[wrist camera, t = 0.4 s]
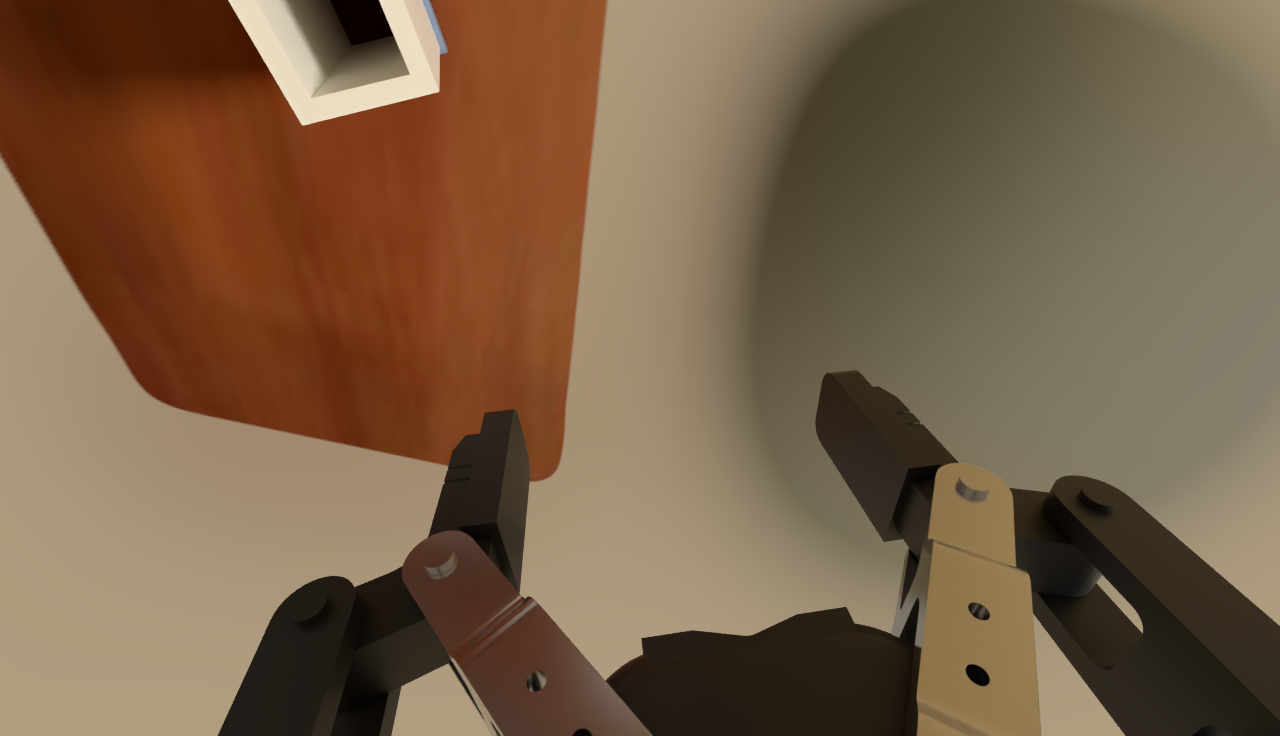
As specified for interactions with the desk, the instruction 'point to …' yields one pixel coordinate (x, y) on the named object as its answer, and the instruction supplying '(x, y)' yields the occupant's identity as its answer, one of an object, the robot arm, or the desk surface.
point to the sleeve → (344, 55)
